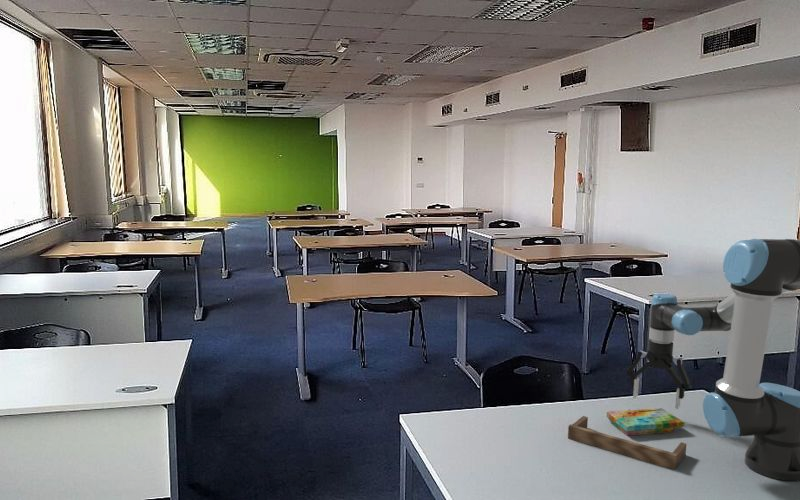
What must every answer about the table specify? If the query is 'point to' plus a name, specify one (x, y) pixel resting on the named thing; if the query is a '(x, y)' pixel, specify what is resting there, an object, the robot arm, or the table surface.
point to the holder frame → (625, 445)
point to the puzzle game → (644, 421)
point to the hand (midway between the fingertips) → (656, 402)
